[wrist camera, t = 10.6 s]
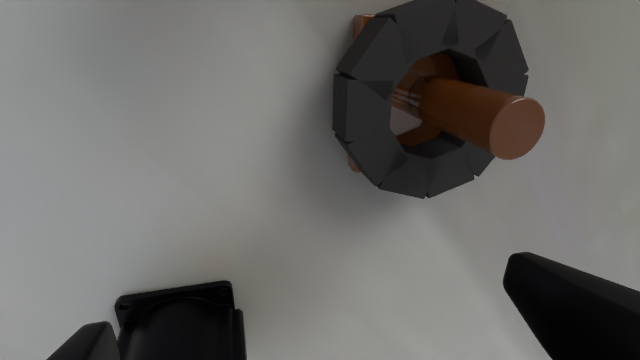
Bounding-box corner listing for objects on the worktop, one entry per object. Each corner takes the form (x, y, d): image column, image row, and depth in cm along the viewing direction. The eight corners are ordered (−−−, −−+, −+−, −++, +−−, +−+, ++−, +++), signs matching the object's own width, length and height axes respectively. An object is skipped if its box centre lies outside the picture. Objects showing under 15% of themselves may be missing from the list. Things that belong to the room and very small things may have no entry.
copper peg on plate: (347, 165, 21) (408, 235, 14) (353, 14, 18) (437, 9, 11) (467, 155, 23) (573, 212, 16) (492, 16, 19) (640, 13, 13)
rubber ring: (330, 190, 20) (342, 208, 18) (335, -8, 16) (351, -12, 14) (477, 175, 22) (501, 190, 20) (513, -2, 18) (548, -5, 16)
